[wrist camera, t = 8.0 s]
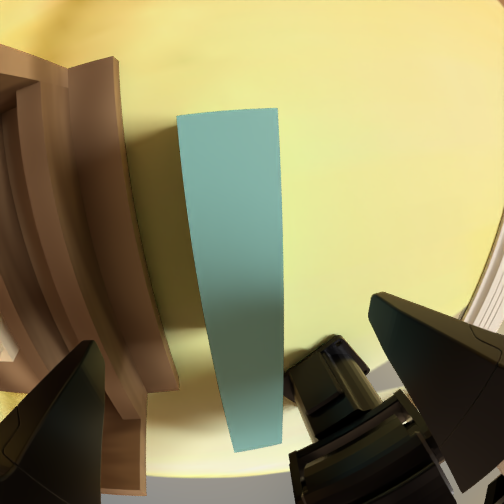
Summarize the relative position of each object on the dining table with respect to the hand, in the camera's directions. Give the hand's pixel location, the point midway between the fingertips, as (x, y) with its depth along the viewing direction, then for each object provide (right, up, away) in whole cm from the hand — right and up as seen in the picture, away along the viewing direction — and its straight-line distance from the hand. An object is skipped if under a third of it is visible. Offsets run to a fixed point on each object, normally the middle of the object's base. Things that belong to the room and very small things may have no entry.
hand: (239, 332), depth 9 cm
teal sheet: (-1, +3, +7) cm, 8 cm away
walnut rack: (-14, +1, +5) cm, 15 cm away
